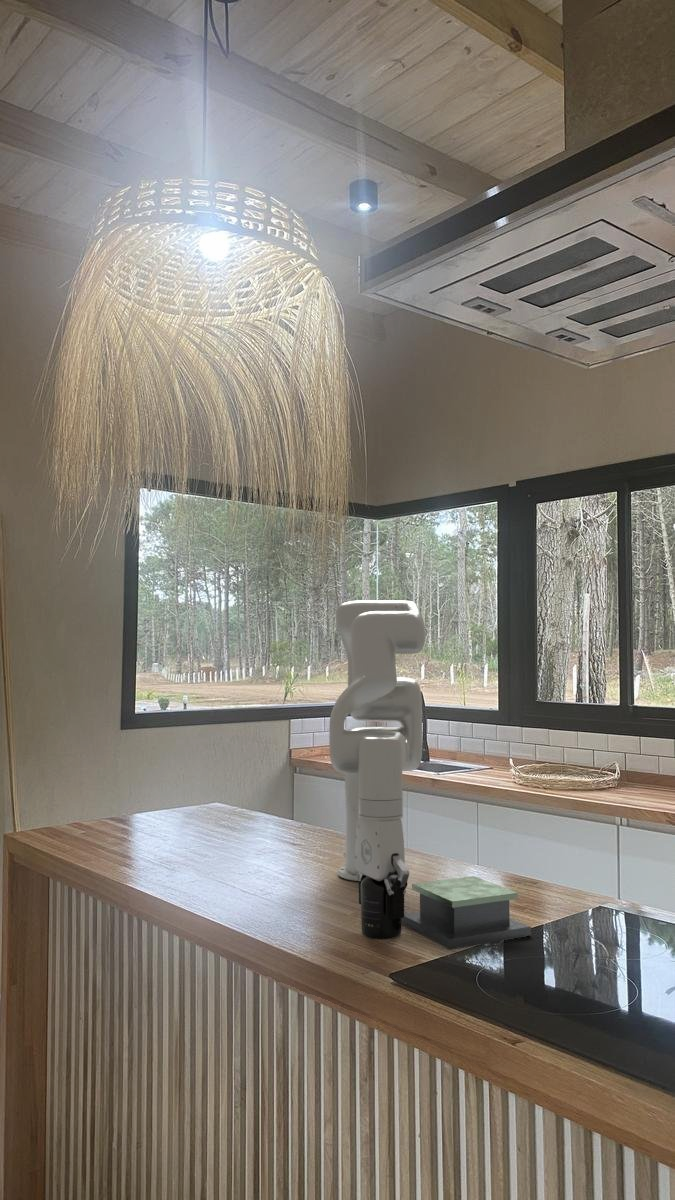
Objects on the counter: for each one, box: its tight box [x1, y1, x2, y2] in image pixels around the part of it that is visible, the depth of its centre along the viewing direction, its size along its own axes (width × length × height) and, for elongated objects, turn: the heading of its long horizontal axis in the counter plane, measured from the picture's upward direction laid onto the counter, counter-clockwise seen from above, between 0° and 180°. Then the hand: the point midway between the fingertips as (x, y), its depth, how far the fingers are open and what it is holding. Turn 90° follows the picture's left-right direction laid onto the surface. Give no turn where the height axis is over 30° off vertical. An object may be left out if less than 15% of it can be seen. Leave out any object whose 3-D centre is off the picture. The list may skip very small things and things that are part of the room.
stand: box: [401, 875, 532, 950], centre depth 155 cm, size 16×16×7 cm
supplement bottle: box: [360, 874, 403, 940], centre depth 153 cm, size 7×7×12 cm
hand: (381, 910), depth 153 cm, fingers open, 9 cm apart
